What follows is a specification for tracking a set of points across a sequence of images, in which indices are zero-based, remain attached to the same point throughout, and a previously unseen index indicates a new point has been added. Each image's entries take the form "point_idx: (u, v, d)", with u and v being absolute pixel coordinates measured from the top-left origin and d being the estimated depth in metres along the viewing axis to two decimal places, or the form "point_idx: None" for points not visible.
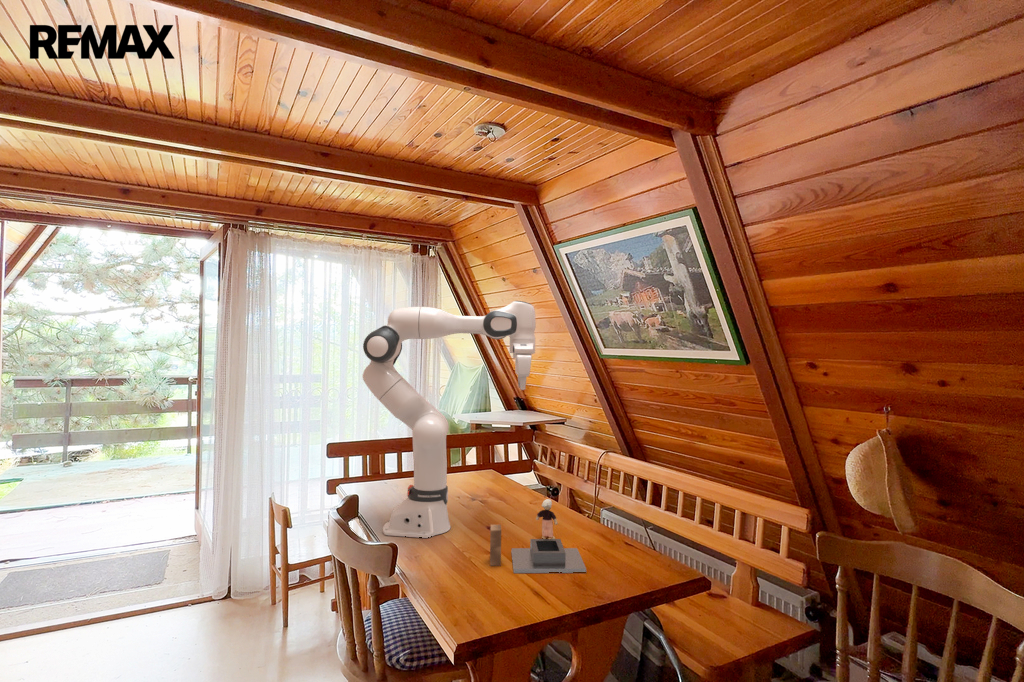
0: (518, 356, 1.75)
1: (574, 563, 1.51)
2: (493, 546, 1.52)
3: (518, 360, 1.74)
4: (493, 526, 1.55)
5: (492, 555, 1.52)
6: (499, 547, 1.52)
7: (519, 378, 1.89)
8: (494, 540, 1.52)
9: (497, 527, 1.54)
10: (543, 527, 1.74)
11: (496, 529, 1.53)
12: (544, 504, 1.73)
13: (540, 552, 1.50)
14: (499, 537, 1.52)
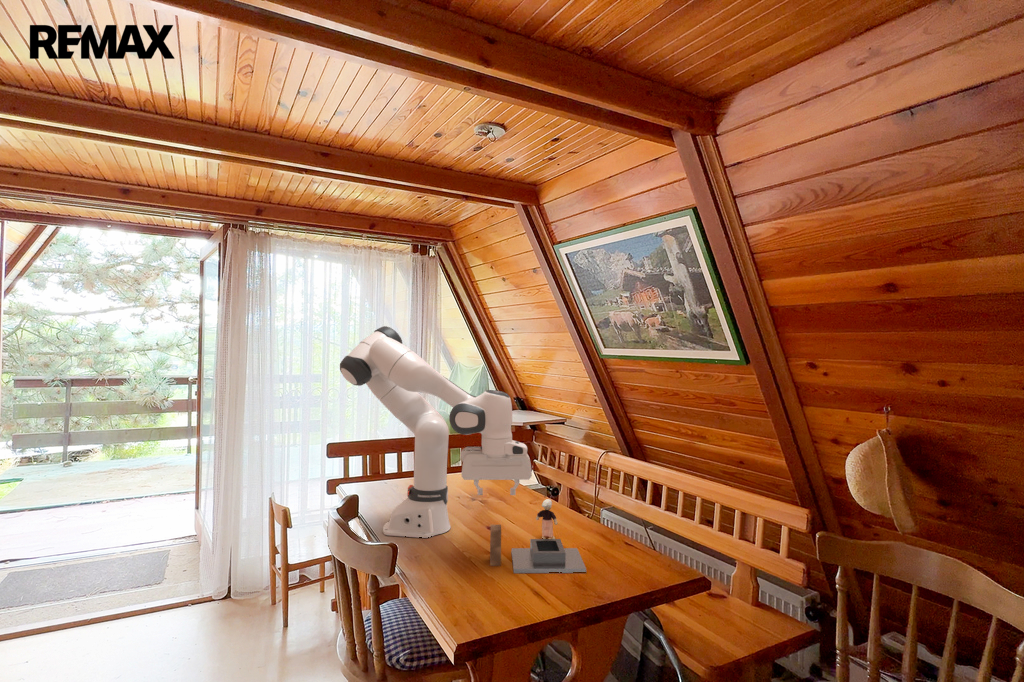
0: (528, 457, 1.53)
1: (574, 563, 1.51)
2: (493, 546, 1.52)
3: None
4: (493, 526, 1.55)
5: (492, 555, 1.52)
6: (499, 547, 1.52)
7: (477, 484, 1.54)
8: (494, 540, 1.52)
9: (497, 527, 1.54)
10: (543, 527, 1.74)
11: (495, 529, 1.53)
12: (544, 504, 1.73)
13: (540, 552, 1.50)
14: (499, 537, 1.52)
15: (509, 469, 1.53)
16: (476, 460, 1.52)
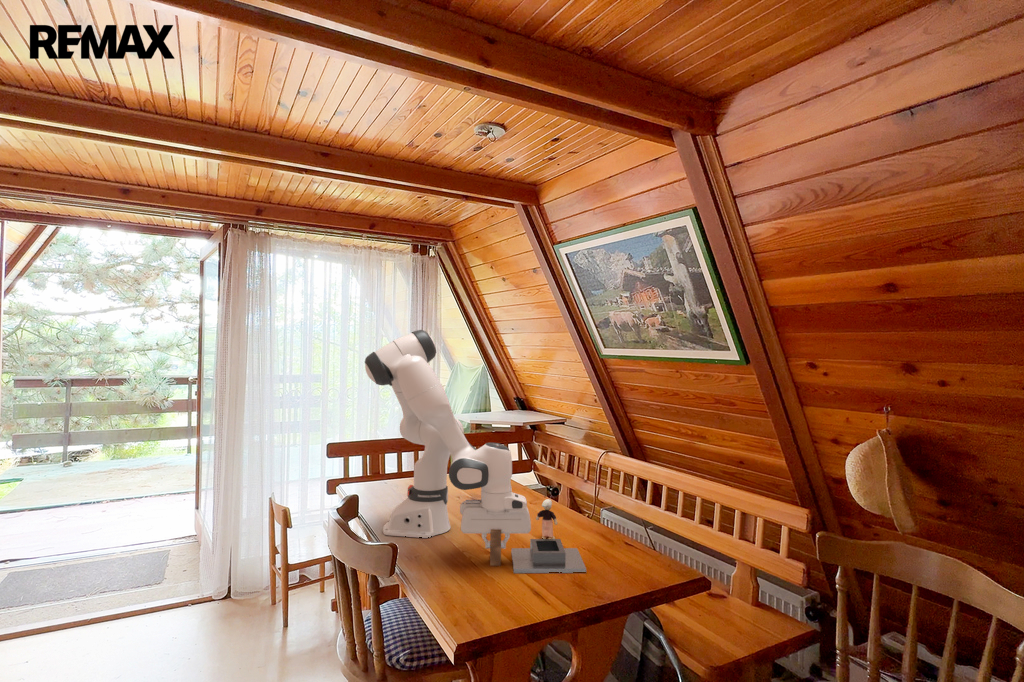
0: (527, 511, 1.53)
1: (574, 563, 1.51)
2: (493, 546, 1.52)
3: (529, 515, 1.53)
4: None
5: (492, 555, 1.52)
6: (499, 547, 1.52)
7: (484, 537, 1.54)
8: (494, 540, 1.52)
9: None
10: (543, 527, 1.74)
11: None
12: (544, 504, 1.73)
13: (540, 552, 1.50)
14: (499, 537, 1.52)
15: (508, 523, 1.53)
16: (476, 514, 1.52)
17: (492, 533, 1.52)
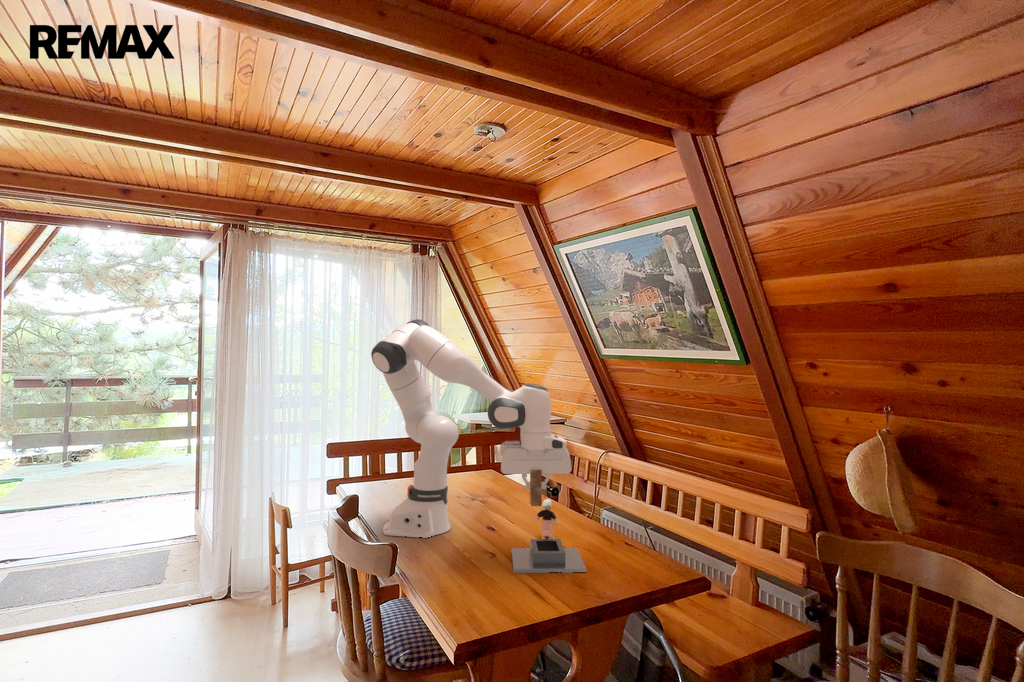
0: (567, 451, 1.52)
1: (574, 563, 1.51)
2: (534, 486, 1.51)
3: (569, 455, 1.52)
4: None
5: (532, 495, 1.51)
6: (540, 487, 1.51)
7: (525, 478, 1.53)
8: (534, 480, 1.51)
9: None
10: (543, 527, 1.74)
11: None
12: (544, 504, 1.73)
13: (540, 552, 1.50)
14: (539, 477, 1.51)
15: (548, 463, 1.52)
16: (516, 454, 1.52)
17: (532, 473, 1.51)
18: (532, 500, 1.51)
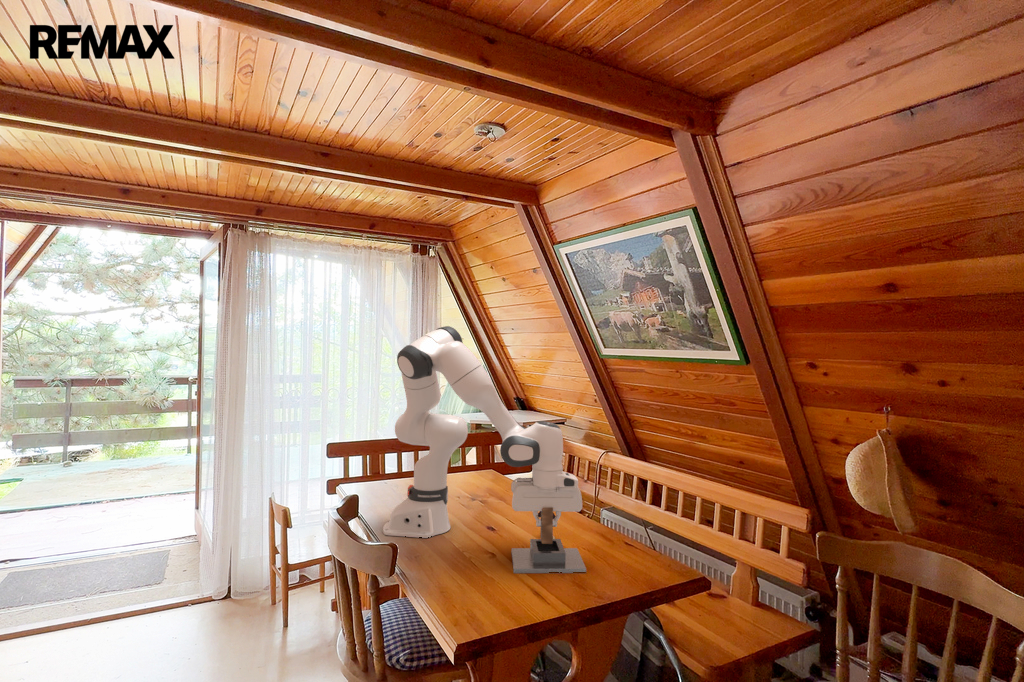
0: (579, 489, 1.53)
1: (574, 563, 1.51)
2: (545, 524, 1.52)
3: None
4: None
5: (543, 533, 1.52)
6: (551, 525, 1.52)
7: (536, 515, 1.54)
8: (546, 518, 1.52)
9: None
10: None
11: None
12: None
13: (540, 552, 1.50)
14: (551, 515, 1.52)
15: (559, 501, 1.53)
16: (527, 492, 1.53)
17: (544, 511, 1.52)
18: (543, 538, 1.52)
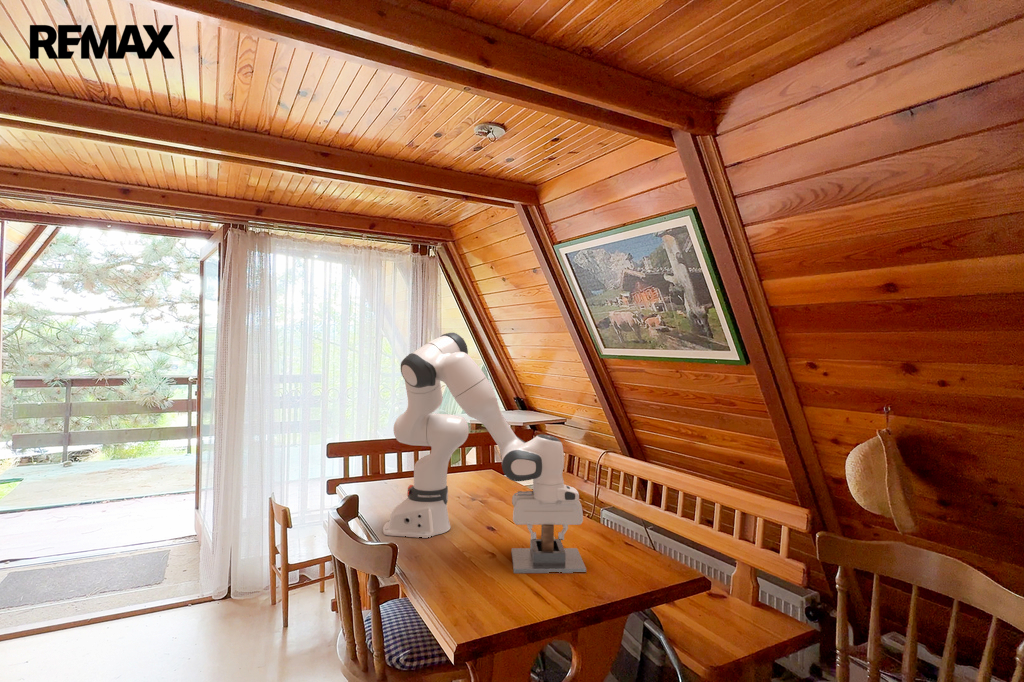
0: (579, 502, 1.54)
1: (574, 563, 1.51)
2: (546, 542, 1.52)
3: (581, 507, 1.54)
4: None
5: (544, 550, 1.52)
6: (552, 543, 1.52)
7: (530, 528, 1.54)
8: (547, 535, 1.52)
9: None
10: None
11: None
12: None
13: (540, 552, 1.50)
14: (552, 533, 1.52)
15: (560, 514, 1.53)
16: (528, 505, 1.53)
17: (545, 529, 1.52)
18: None
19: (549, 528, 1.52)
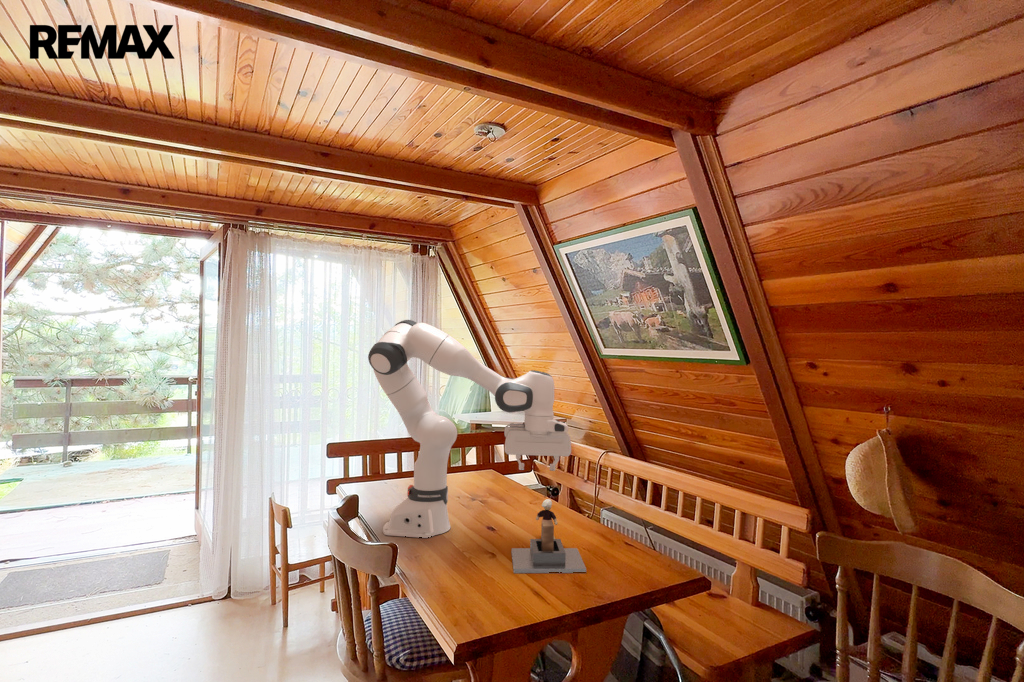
0: (568, 434, 1.61)
1: (574, 563, 1.51)
2: (546, 542, 1.52)
3: (570, 439, 1.61)
4: (544, 522, 1.56)
5: (544, 550, 1.52)
6: (552, 543, 1.52)
7: None
8: (547, 535, 1.52)
9: (548, 523, 1.55)
10: None
11: (548, 524, 1.53)
12: (544, 504, 1.73)
13: (540, 552, 1.50)
14: (552, 533, 1.52)
15: (550, 445, 1.61)
16: (519, 436, 1.60)
17: (545, 529, 1.52)
18: None
19: (549, 528, 1.52)
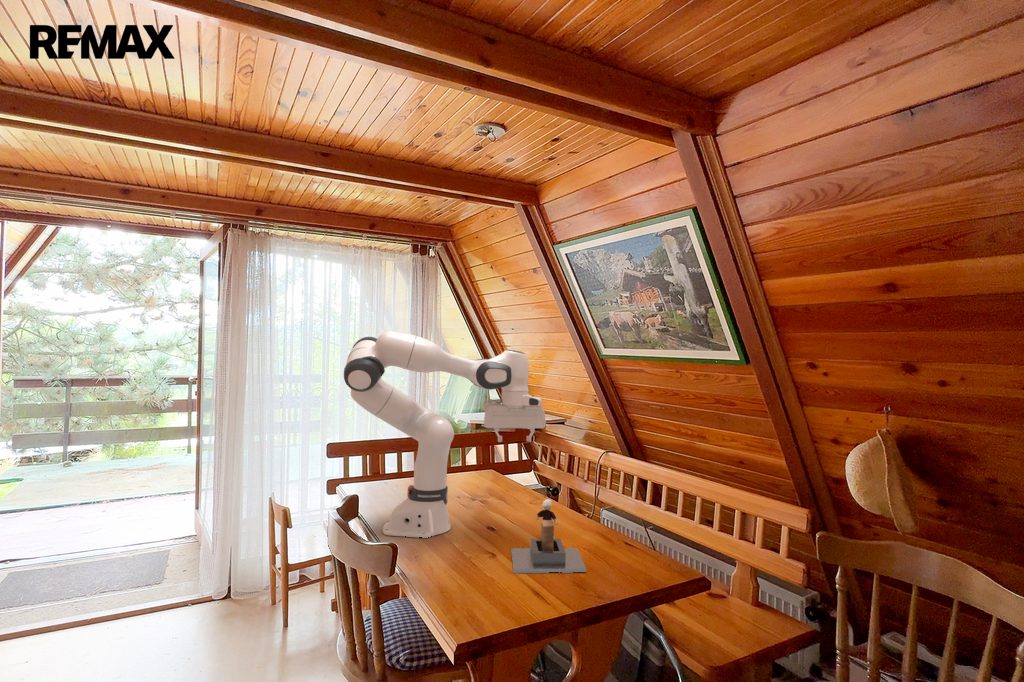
0: (542, 408, 1.74)
1: (574, 563, 1.51)
2: (546, 542, 1.52)
3: (544, 412, 1.74)
4: (544, 522, 1.56)
5: (544, 550, 1.52)
6: (552, 543, 1.52)
7: (497, 432, 1.75)
8: (547, 535, 1.52)
9: (548, 523, 1.55)
10: None
11: (548, 524, 1.53)
12: (544, 504, 1.73)
13: (540, 552, 1.50)
14: (552, 533, 1.52)
15: (525, 419, 1.74)
16: (497, 411, 1.73)
17: (545, 529, 1.52)
18: None
19: (549, 528, 1.52)
